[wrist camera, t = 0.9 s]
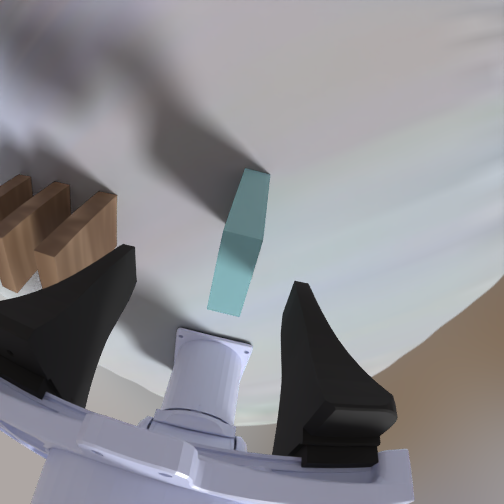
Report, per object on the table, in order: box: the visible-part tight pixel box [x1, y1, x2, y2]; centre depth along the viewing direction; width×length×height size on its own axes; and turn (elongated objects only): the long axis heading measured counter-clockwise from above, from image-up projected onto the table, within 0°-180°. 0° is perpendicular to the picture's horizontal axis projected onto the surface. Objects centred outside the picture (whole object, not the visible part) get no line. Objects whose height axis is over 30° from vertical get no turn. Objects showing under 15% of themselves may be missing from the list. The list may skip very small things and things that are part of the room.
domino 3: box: [0, 182, 71, 293], centre depth 20 cm, size 2×5×9 cm, turn 167°
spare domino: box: [207, 168, 270, 317], centre depth 19 cm, size 2×5×9 cm, turn 166°
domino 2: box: [34, 191, 117, 289], centre depth 21 cm, size 2×5×9 cm, turn 166°
